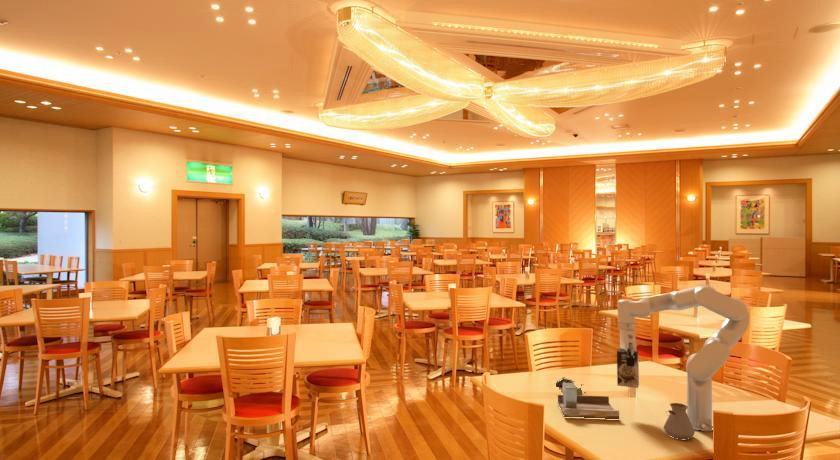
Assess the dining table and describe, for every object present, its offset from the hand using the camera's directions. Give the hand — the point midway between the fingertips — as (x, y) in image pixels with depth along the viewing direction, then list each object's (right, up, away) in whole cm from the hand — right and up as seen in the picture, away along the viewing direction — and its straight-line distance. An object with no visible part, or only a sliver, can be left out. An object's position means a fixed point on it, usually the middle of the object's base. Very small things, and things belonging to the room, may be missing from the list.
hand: (627, 363), depth 231 cm
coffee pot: (+8, -24, -29) cm, 38 cm away
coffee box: (0, -10, 0) cm, 10 cm away
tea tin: (-26, -22, +4) cm, 34 cm away
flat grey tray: (-18, -24, +2) cm, 30 cm away
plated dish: (-16, -25, +34) cm, 45 cm away
